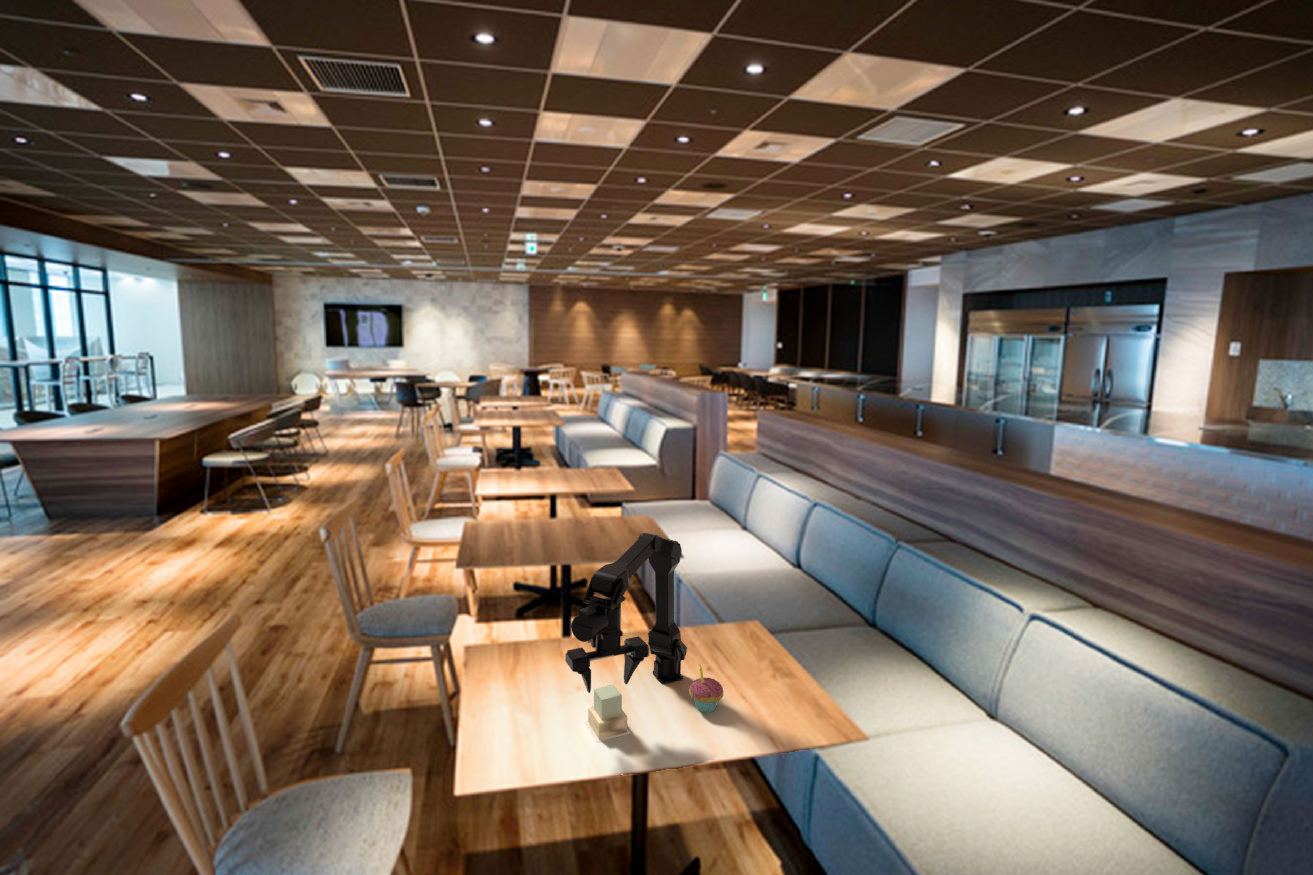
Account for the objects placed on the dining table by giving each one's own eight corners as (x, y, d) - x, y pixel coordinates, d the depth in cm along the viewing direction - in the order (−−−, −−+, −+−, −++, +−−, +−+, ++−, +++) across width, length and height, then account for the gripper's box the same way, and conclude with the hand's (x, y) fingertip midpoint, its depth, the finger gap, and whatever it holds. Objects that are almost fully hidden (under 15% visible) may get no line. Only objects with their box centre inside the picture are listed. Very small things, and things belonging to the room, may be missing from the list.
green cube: (613, 703, 158) (613, 684, 157) (621, 714, 154) (621, 694, 153) (593, 708, 156) (593, 688, 155) (601, 719, 152) (601, 699, 151)
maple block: (615, 716, 160) (615, 700, 160) (627, 731, 154) (627, 716, 153) (588, 722, 157) (588, 707, 157) (598, 739, 151) (598, 723, 150)
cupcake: (699, 720, 160) (701, 674, 158) (682, 702, 168) (683, 658, 166) (729, 711, 164) (731, 666, 162) (711, 694, 172) (712, 651, 170)
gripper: (631, 604, 162) (630, 663, 165) (558, 617, 154) (557, 679, 157) (651, 622, 153) (649, 685, 155) (573, 637, 144) (573, 703, 147)
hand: (607, 687), depth 154 cm, fingers open, 9 cm apart
